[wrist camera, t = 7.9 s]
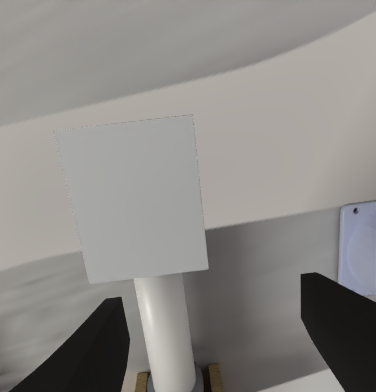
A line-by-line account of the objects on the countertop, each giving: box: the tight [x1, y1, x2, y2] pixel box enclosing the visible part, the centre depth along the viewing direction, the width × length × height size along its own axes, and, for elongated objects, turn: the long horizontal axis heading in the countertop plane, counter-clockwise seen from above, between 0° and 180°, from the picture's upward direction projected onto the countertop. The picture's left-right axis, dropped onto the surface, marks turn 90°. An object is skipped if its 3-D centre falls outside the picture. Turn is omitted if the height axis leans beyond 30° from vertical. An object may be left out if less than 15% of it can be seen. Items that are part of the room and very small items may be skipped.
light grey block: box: [54, 115, 209, 284], centre depth 16 cm, size 8×6×6 cm
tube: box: [134, 273, 204, 392], centre depth 19 cm, size 18×4×4 cm, turn 6°
